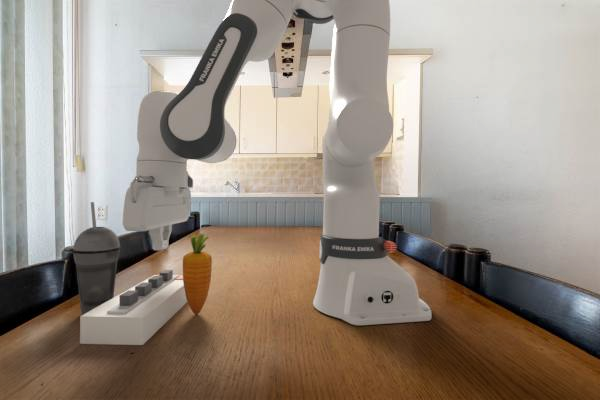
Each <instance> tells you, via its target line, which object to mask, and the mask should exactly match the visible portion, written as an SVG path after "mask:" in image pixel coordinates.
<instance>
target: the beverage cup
mask: <svg viewBox="0 0 600 400" xmlns="http://www.w3.org/2000/svg"><path fill="white" fill-rule="evenodd" d="M90 209H91V210H90V211H91V222H92V223H91V225H92V226H91V227H89V228H87V229H85V230H83V231H82V232H81V233H80V234H79V235H77V237H76V239H75V241H74V243H73V248H72V252H71V253H73V260H74V264H75V268H76V269H75V270H76V277H77V278H76V279H77V286H78V297H79V307H80V312H81V316H82V315H84V314H85V313H87V312H89V311H91V310H92V309H94V308H96V307H98V306H100V305H101V304H103V303H105V302H107V301H109V300H110V299H112V298H114V297H115V287H116V286H115V285H116V276H117V269H118V260H119V258H120V253H121V251H120V250H121V248H122V247H121V244H120V243H121V242H120V239H119V237H118V235H117V234H116V232H114V231H113V230H112V229H110V228H108V227H105V226H97V220H96V211H95V210H96V209H95V202H94V201H91V202H90Z"/></svg>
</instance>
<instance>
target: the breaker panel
mask: <svg viewBox="0 0 600 400" xmlns="http://www.w3.org/2000/svg"><path fill="white" fill-rule="evenodd" d="M173 273H174V272H173V269H164V270H162V271H160V272H159V274H154V275H151V276H150V277H148V278H146V279H145V280H142V281H140V282H139V283H137V284H136V285H134V286H132V287H130V288H129V289H127V290H124V291H123V292H121V293H119V294H118V295H115V296H114V297H113V298H112V299H110V300H109V301H107V302H105V303H103V304H101V305H100V306H98V307H96V308H94V309H92V310H91V311H89V312H87V313H85V314H84V315H82V314H81V315H80V317H79V319H80V321H79V324H80V327H79V329H80V330H79V344H80V345H85V344H86V345H113V346H114V345H116V346H118V345H119V346H120V345H121V346H122V345H123V346H127V345H128V346H143V345H145V344H146V342H148V341H149V340H150V339H151V338H152V337H153V336H154V335H155V334H156V333H157V332H158V331H159V330H160V329H161V328H162V327H163V326H165V324H166V323H167V322H169V320H170V319H171V318H173V317H174V315H175V314H177V312H179V311H180V310H181V309H182V308H183V307H184V306H185V305H186V304H187V303H188V301H187V299H186V294H185V289H184V283H183V274H173Z"/></svg>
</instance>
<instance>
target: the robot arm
mask: <svg viewBox="0 0 600 400" xmlns="http://www.w3.org/2000/svg"><path fill="white" fill-rule="evenodd" d="M390 7H391V5H390V0H232V1H231V3H230V6H229V9H228V10H227V13H226V15H225V17H224V19H223V20H222V21H221V23H220V24H219V26H218V27H217V28H216V30H215V32H214V33H213V36H212V37H211V39H210V41H209V42H208V45H207V47H206V49H205V50H204V52H203V54H202V57H200V59H199V62H198V63H197V66H196V68H195V70H194V71H193V74H192V75H191V77H190V79H189V80H188V83H187V84H186V85H185V86H184V88H183V89H182V90H181V91H180V92H176V91H170V90H156V91H152V92H149V93H148V94H146V95H144V97H143V98H142V99H141V102H140V104H139V110H138V113H137V114H138V117H137V132H136V135H137V136H136V138H137V142H138V155H137V156H136V167H135V168H136V171H135V172H136V174H135V176H134V178H133V180H132V181H131V182H130V184H129V185H130V186H129V187H128V188H127V190H126V193H125V195H124V196H125V197H124V202H123V211H122V226H123V228H124V230H125V231H127V232H148V233H149V235H150V239H151V241H152V250H153V251H162V250H164V249H167V248H168V247H169V240H170V237H171V233H172V230H173V225H175V224H180V223H184V222H187V221H188V220H189V217H190V212H191V202H192V201H191V200H192V193H191V192H192V191H191V189H193V188H194V179H193V177H192V176H190V174H189V172H188V170H187V169H188V168H187V165H188V163H187V162H188V160H195V161H199V162H202V163H207V164H217V163H221V162H224V161H227V159H229V158H230V157H231V156H232V155H233V153H234V152H235V150H236V145H237V136H236V133H235V130H234V129H233V126H231V124H230V122H229V121H228V120H227V119H226V117H225V113H226V112H225V110H226V104H227V102H228V100H229V97H230V96H231V94H232V92H233V89H234V87H235V85H236V83H237V81H238V79H239V77H240V75H241V73H242V71H243V69H244V68H245V66H246V65H247V64H248V62H254V63H255V62H256V63H257V62H264V61H266V60H268V59H270V58H271V57H272V56H273V55H274V53H275V52H276V50H277V49H278V47H279V45H280V44H281V41H282V40H283V38H284V35H285V33H286V32H287V31H286V30H287V28H288V26H289V23H290V21H291V18H292V16H293V15H294V16H295V17H296V18H297V19H302V20H305V21H307V22H309V23H311V24H314V25H315V24H317V25H324V24H327V23H330V22H331V21H333V24H334V25H333V35H332V46H331V56H330V57H331V59H330V70H329V71H330V73H329V113H328V114H329V115H328V124H327V128H326V129H325V132H324V134H323V139H322V181H323V182H322V183H323V184H322V187H323V211H322V212H323V214H322V234H320V240H319V262H320V271H319V276H318V282H317V288H316V291H315V295H314V298H313V302H312V305H313V307H314V308H315V309H316V310H317V311H318V312H320V313H323V314H324V315H328V316H331V317H334V318H336V319H341V320H342V321H344V322H346V323H348V324H350V325H353V326H369V325H385V324H387V325H388V324H399V323H415V322H427V321H428V322H429V321H431V320H432V319H433V318H432V317H433V316H432V310H431V308H430V306H429V304H427V303H426V302H425V301H424V300H422V299H421V298H419V297H420V296H419V291H418V290H419V289H418V286H417V283H416V281H415V279H414V278H413V276H412V275H411V274H409V273H408V272H407V270H405V269H404V268H403V267H401V266H400V265H399V264H398V263H397V262H396V261H394V260H393V259H392V258H391V257H390V256H389V255H388V254H389V253H395V252H396V251H397V248H398V246H397V244H396V243H395V242H393V241H392V240H386V239H384V238H383V237H381V236H379V235H380V206H381V205H380V204H381V203H380V201H381V200H380V193H379V191H378V187H377V180H376V172H375V159H376V158H378V157H379V156H380V155H381V154H382V153H383V152H384V151H385V150H386V148H387V147H388V144H389V142H391V141H390V140H391V138H392V136H393V133H394V118H393V117H392V114H391V111H390V104H389V96H388V95H389V94H388V81H387V79H388V78H387V77H388V66H389V65H388V63H389V51H390V40H391V38H390V37H391V8H390Z"/></svg>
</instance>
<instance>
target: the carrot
mask: <svg viewBox="0 0 600 400" xmlns="http://www.w3.org/2000/svg"><path fill="white" fill-rule="evenodd" d="M205 235H206V234H205V232H204V233H203V232H200V233H199V235H198V237H197V236H196V234H195V233H192V234H191V235H190V236H191V237H190V242H191V243H190V244H191V246H192V250H193V251H190V252H187V253H186V254H185V255H184V256H183V258H182V275H183V283H184V289H185V294H186V299H187V301H188V302H187V303H188V306H189V308H190V310H191V312H192V313H193V314H194V315H195V316H198V315H199V314H201V311H202V310H203V307H204V306H205V303H206V300H207V298H208V293H209V291H210V290H209V289H210V285H211V281H212V280H211V279H212V268H213V267H212V263H213V262H212V261H213V260H212V259H213V257H212V255H211V254H210V253H209V252H206V251H203V249H204V248H205V247H206V246H207V244H205V242H206V241H208V240H209V238H210V237H209V236H205Z"/></svg>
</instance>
